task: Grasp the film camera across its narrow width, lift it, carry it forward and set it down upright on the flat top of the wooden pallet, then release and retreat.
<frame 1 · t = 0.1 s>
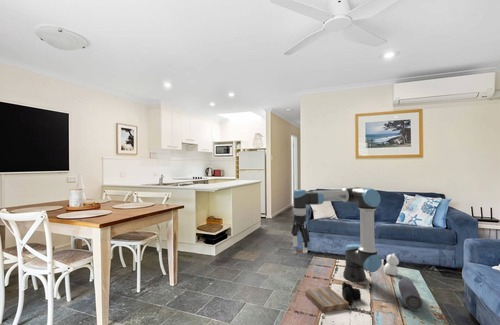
hand: (300, 249, 157), 28 cm above the table, fingers open, 13 cm apart
bluetooth speaker: (409, 302, 147), on the table
cat figurine: (389, 273, 188), on the table
film camera: (351, 300, 151), on the table
wooden pallet: (326, 301, 148), on the table
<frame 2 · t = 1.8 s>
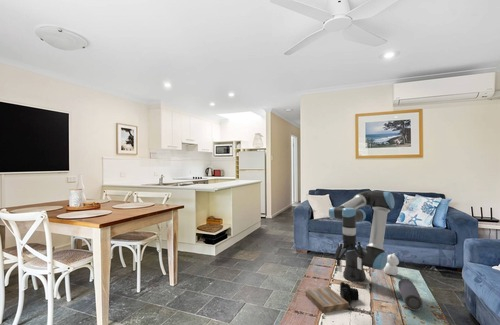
hand: (349, 270, 151), 17 cm above the table, fingers open, 13 cm apart
film camera: (349, 300, 151), on the table
everything else where it was.
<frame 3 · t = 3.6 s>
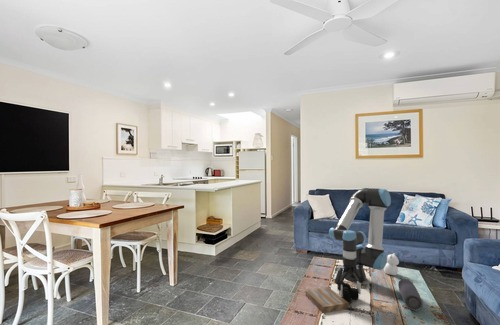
hand: (349, 294, 150), 3 cm above the table, fingers closed on film camera, 12 cm apart
film camera: (349, 299, 151), on the table, touching gripper
everything else where it was.
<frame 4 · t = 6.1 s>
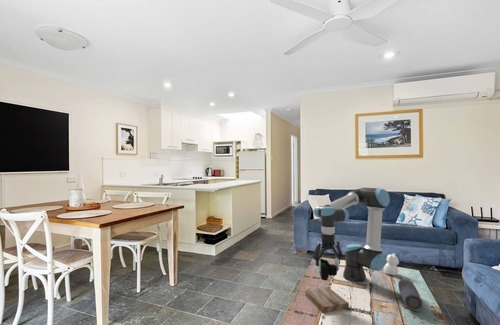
hand: (328, 270, 149), 18 cm above the table, fingers closed on film camera, 12 cm apart
film camera: (327, 275, 149), point 14 cm above the table, touching gripper
everything else where it was.
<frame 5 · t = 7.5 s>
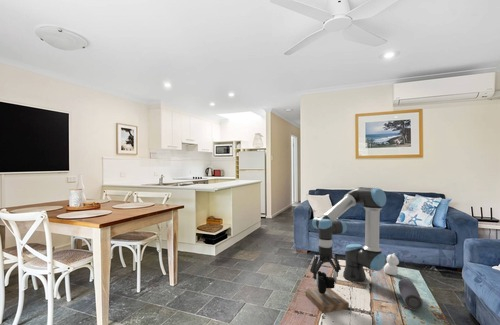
hand: (325, 283, 149), 10 cm above the table, fingers closed on film camera, 12 cm apart
film camera: (325, 288, 149), point 7 cm above the table, touching gripper
everything else where it was.
when the fingers open (7 cm above the table, at t = 8.7 s): film camera drops 1 cm, resting on wooden pallet.
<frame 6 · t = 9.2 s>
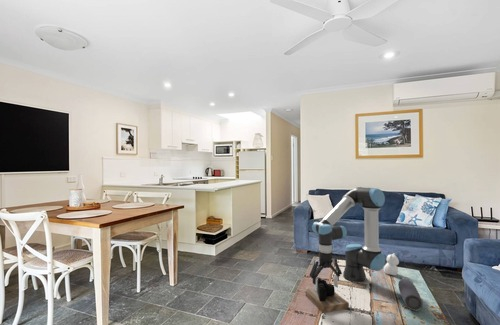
hand: (325, 288, 149), 8 cm above the table, fingers open, 13 cm apart
film camera: (325, 296, 149), point 3 cm above the table, touching wooden pallet
everything else where it was.
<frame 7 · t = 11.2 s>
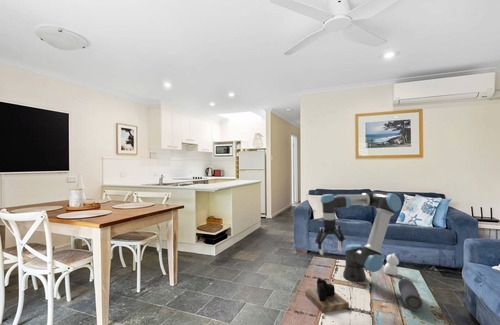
hand: (330, 252, 160), 25 cm above the table, fingers open, 13 cm apart
nothing on the table moved.
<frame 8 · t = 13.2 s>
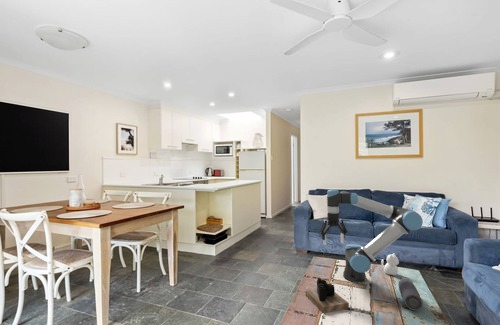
hand: (333, 244, 172), 27 cm above the table, fingers open, 13 cm apart
nothing on the table moved.
at the end: film camera inside the target area on the wooden pallet (0.7 cm from its centre), point 2.8 cm above the wooden pallet's base; film camera tilted 0°; the gripper is holding nothing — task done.
